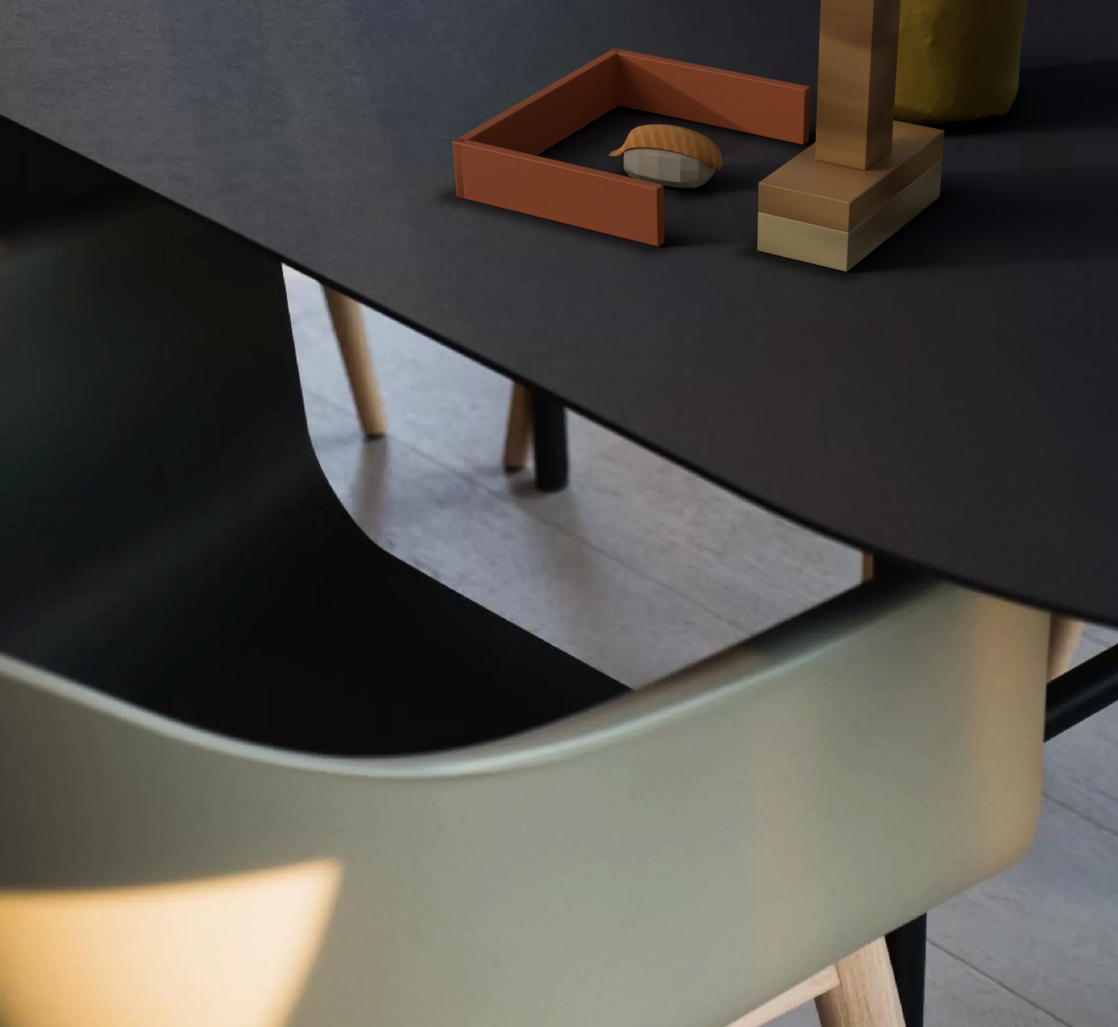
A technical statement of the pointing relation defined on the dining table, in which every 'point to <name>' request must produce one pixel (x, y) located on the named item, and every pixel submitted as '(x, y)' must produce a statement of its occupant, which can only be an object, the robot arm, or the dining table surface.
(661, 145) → the sushi
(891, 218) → the brown boxy piece
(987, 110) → the mug
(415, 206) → the dining table surface
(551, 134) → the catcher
